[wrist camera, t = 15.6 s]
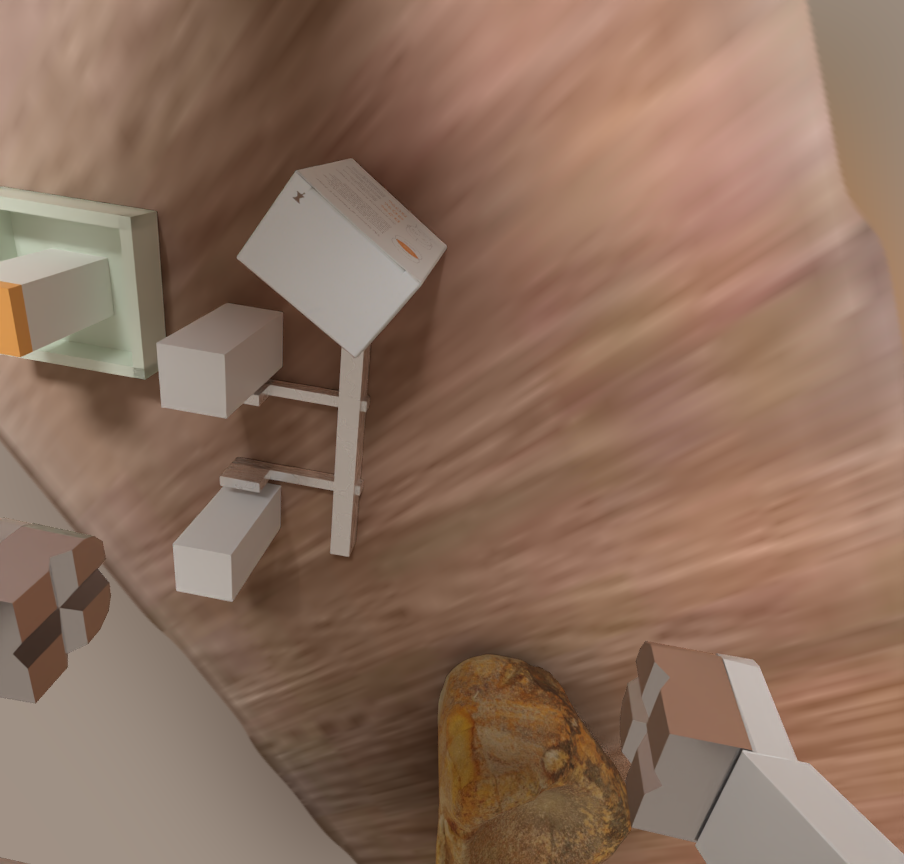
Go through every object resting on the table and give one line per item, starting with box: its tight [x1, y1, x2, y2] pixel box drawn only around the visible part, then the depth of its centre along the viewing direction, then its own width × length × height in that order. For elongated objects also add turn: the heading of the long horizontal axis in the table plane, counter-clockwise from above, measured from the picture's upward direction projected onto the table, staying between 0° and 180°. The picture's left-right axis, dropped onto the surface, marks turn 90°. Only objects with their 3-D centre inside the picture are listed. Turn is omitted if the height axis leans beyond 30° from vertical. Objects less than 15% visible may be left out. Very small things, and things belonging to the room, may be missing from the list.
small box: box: [237, 158, 447, 358], centre depth 36 cm, size 8×6×10 cm
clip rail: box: [220, 343, 371, 557], centre depth 47 cm, size 18×10×3 cm, turn 173°
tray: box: [0, 186, 166, 380], centre depth 43 cm, size 11×11×3 cm
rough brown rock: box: [436, 654, 631, 864], centre depth 52 cm, size 23×17×15 cm
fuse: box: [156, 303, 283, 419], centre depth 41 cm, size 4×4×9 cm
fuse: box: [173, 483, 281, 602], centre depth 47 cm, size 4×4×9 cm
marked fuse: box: [0, 248, 114, 357], centre depth 40 cm, size 4×4×9 cm
